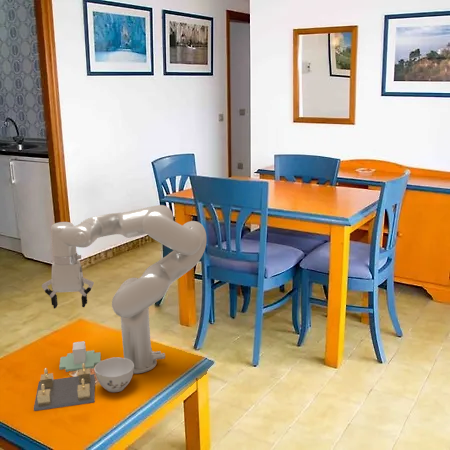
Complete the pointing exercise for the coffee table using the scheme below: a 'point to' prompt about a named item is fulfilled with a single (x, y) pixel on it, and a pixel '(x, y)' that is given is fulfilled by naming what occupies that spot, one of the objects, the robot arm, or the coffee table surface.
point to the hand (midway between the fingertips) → (69, 306)
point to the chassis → (65, 390)
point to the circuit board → (76, 367)
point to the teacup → (114, 373)
